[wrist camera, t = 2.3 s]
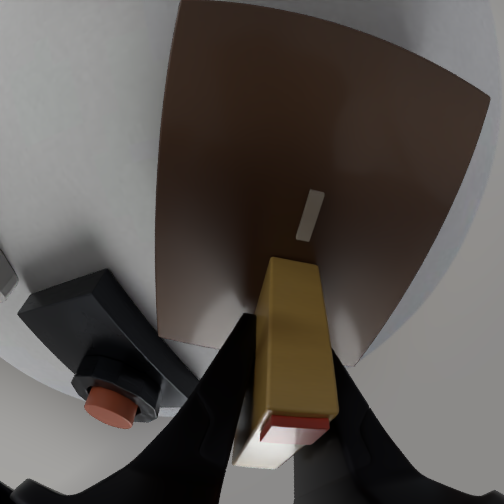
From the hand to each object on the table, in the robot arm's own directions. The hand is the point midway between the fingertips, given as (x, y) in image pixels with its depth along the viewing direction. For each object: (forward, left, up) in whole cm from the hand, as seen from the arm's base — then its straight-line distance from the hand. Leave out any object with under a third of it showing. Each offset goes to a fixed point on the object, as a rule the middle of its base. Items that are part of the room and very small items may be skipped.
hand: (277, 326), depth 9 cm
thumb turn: (0, 0, 0) cm, 0 cm away
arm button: (-7, +14, -2) cm, 16 cm away
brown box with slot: (+3, -2, -6) cm, 6 cm away
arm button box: (-5, +14, -6) cm, 16 cm away
